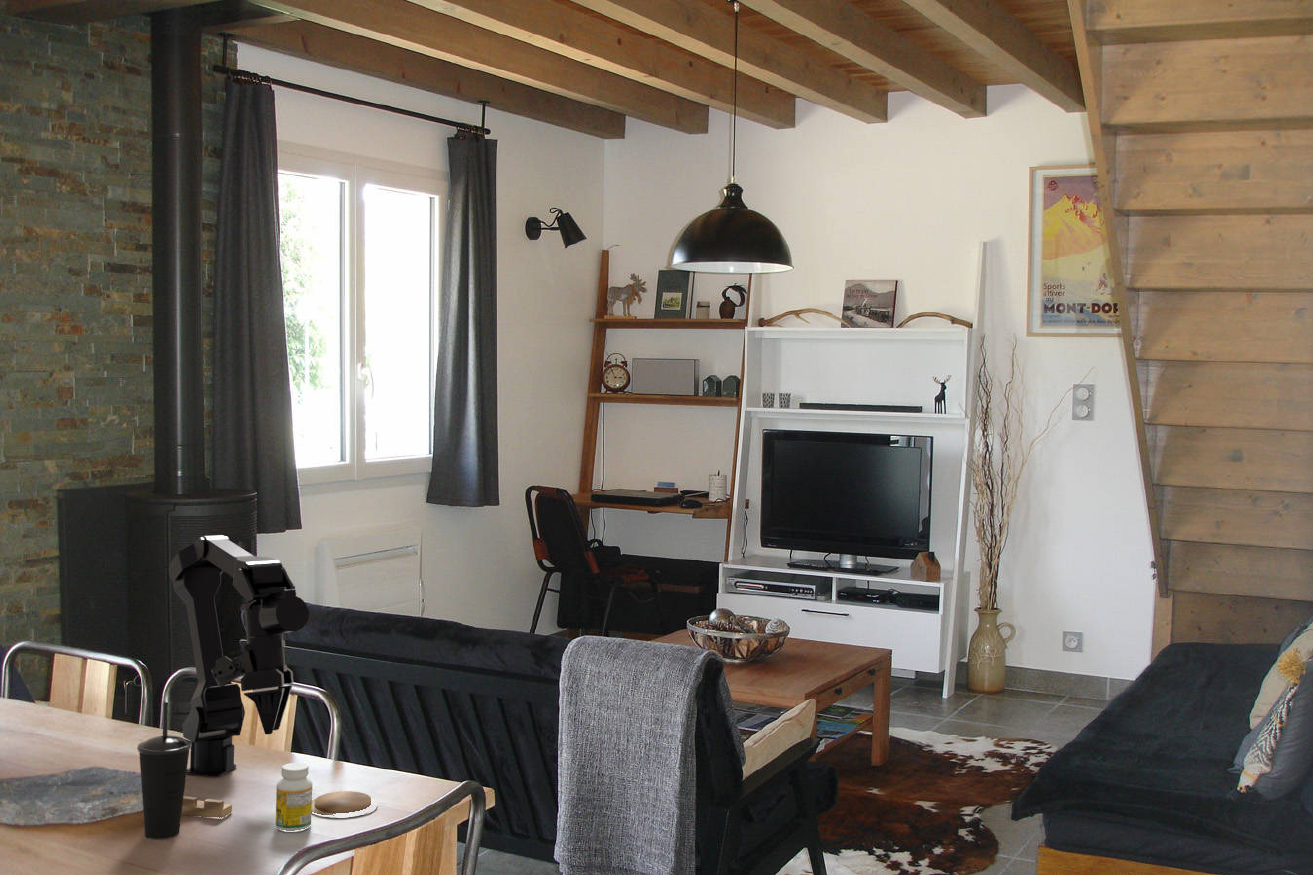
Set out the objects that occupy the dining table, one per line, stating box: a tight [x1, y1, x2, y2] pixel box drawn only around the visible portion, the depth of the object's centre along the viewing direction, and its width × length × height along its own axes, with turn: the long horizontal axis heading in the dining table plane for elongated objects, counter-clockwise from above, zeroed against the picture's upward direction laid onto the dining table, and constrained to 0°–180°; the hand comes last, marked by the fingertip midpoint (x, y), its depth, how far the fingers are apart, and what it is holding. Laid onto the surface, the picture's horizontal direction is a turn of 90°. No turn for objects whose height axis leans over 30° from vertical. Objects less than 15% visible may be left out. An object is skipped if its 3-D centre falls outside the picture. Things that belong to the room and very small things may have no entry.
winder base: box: [312, 790, 372, 816], centre depth 203 cm, size 11×11×1 cm
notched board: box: [181, 795, 233, 818], centre depth 197 cm, size 8×3×3 cm, turn 78°
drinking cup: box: [137, 701, 192, 840], centre depth 188 cm, size 8×8×20 cm
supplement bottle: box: [275, 762, 313, 831], centre depth 193 cm, size 5×5×10 cm
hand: (272, 732), depth 203 cm, fingers open, 9 cm apart
